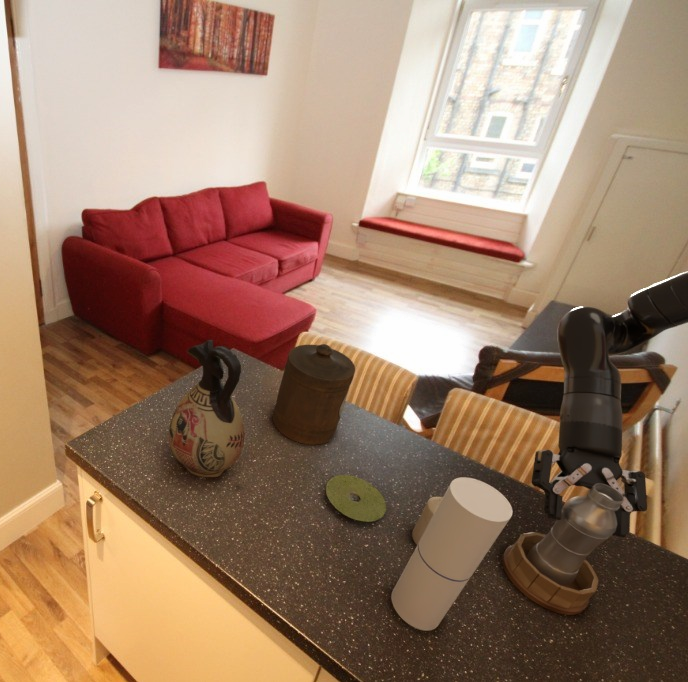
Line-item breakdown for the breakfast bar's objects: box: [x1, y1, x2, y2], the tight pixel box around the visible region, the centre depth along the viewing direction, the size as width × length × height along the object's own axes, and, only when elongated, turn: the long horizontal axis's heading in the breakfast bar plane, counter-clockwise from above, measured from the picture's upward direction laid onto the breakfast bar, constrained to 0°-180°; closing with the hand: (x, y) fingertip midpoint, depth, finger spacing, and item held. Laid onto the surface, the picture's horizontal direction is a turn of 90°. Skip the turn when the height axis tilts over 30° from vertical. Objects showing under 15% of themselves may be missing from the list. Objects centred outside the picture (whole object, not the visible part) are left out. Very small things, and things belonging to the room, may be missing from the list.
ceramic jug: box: [168, 339, 246, 478], centre depth 86 cm, size 17×15×30 cm
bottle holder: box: [501, 531, 600, 616], centre depth 75 cm, size 12×12×5 cm
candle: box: [411, 496, 444, 546], centre depth 79 cm, size 6×6×10 cm
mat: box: [325, 474, 387, 523], centre depth 87 cm, size 11×11×2 cm
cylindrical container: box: [390, 476, 513, 632], centre depth 64 cm, size 7×7×25 cm
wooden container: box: [272, 343, 356, 445], centre depth 102 cm, size 15×15×22 cm
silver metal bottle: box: [526, 483, 624, 587], centre depth 71 cm, size 6×7×20 cm
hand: (585, 527), depth 69 cm, fingers open, 8 cm apart
